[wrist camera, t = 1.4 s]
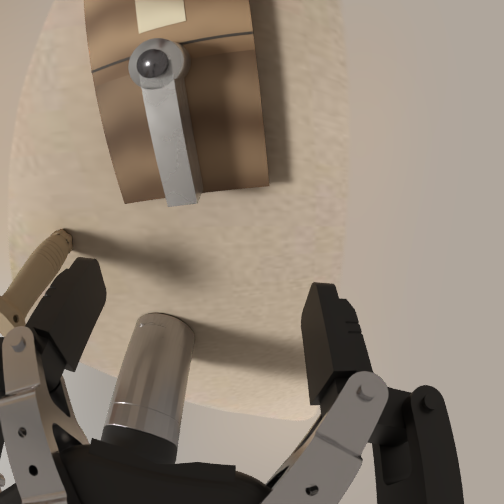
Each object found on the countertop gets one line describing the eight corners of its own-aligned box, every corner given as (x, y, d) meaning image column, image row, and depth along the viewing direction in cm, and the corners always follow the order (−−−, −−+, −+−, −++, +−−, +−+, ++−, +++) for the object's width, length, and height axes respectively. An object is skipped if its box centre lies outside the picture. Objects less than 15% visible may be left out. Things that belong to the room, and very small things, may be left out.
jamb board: (268, 177, 26) (269, 186, 25) (132, 195, 27) (124, 204, 26) (240, -57, 12) (238, -66, 11) (93, -16, 13) (82, -20, 12)
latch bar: (140, 48, 17) (121, 46, 14) (187, 36, 17) (175, 30, 14) (169, 192, 25) (157, 211, 22) (211, 187, 24) (205, 205, 22)
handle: (64, 212, 28) (-9, 299, 16) (88, 254, 32) (32, 347, 20) (42, 222, 29) (-25, 302, 17) (65, 261, 33) (11, 346, 21)
